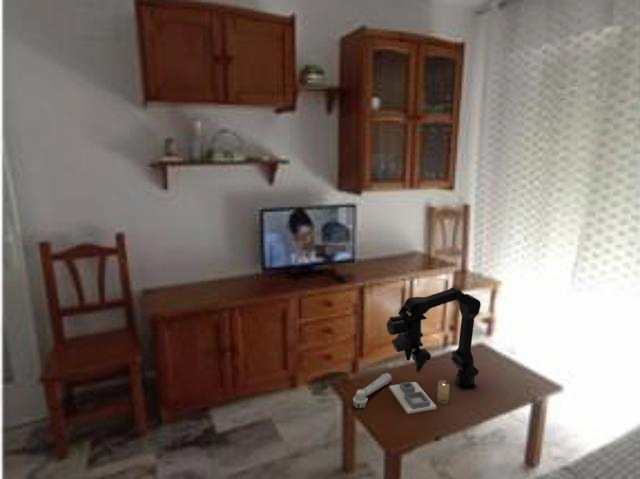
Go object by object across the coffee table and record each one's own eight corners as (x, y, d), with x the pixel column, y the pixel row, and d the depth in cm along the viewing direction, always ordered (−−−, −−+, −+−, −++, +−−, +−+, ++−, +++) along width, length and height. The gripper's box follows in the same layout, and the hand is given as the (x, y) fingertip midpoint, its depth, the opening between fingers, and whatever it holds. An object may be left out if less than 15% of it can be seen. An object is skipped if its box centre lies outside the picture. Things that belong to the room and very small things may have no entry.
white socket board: (415, 383, 188) (415, 377, 187) (436, 408, 171) (436, 401, 170) (389, 388, 185) (389, 381, 184) (407, 413, 168) (407, 406, 167)
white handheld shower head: (394, 374, 189) (362, 394, 169) (392, 389, 189) (361, 410, 170) (383, 370, 192) (351, 389, 172) (382, 385, 193) (349, 405, 173)
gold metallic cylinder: (444, 397, 178) (446, 379, 176) (450, 403, 174) (451, 385, 172) (435, 398, 177) (436, 380, 175) (440, 404, 173) (441, 386, 171)
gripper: (385, 323, 180) (385, 357, 183) (404, 343, 162) (403, 381, 166) (410, 319, 182) (410, 353, 186) (432, 339, 164) (430, 377, 168)
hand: (412, 366), depth 176 cm, fingers open, 9 cm apart
